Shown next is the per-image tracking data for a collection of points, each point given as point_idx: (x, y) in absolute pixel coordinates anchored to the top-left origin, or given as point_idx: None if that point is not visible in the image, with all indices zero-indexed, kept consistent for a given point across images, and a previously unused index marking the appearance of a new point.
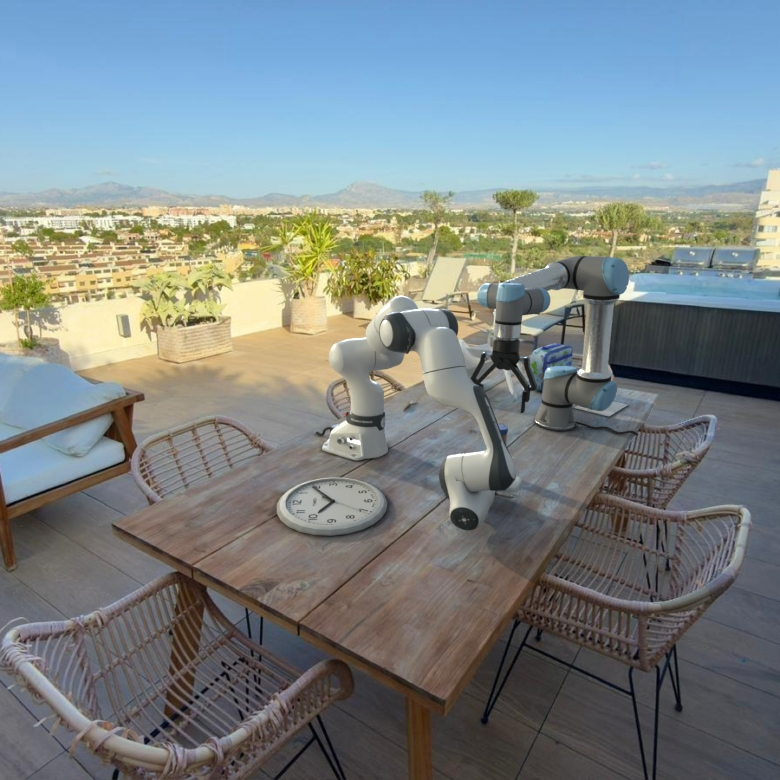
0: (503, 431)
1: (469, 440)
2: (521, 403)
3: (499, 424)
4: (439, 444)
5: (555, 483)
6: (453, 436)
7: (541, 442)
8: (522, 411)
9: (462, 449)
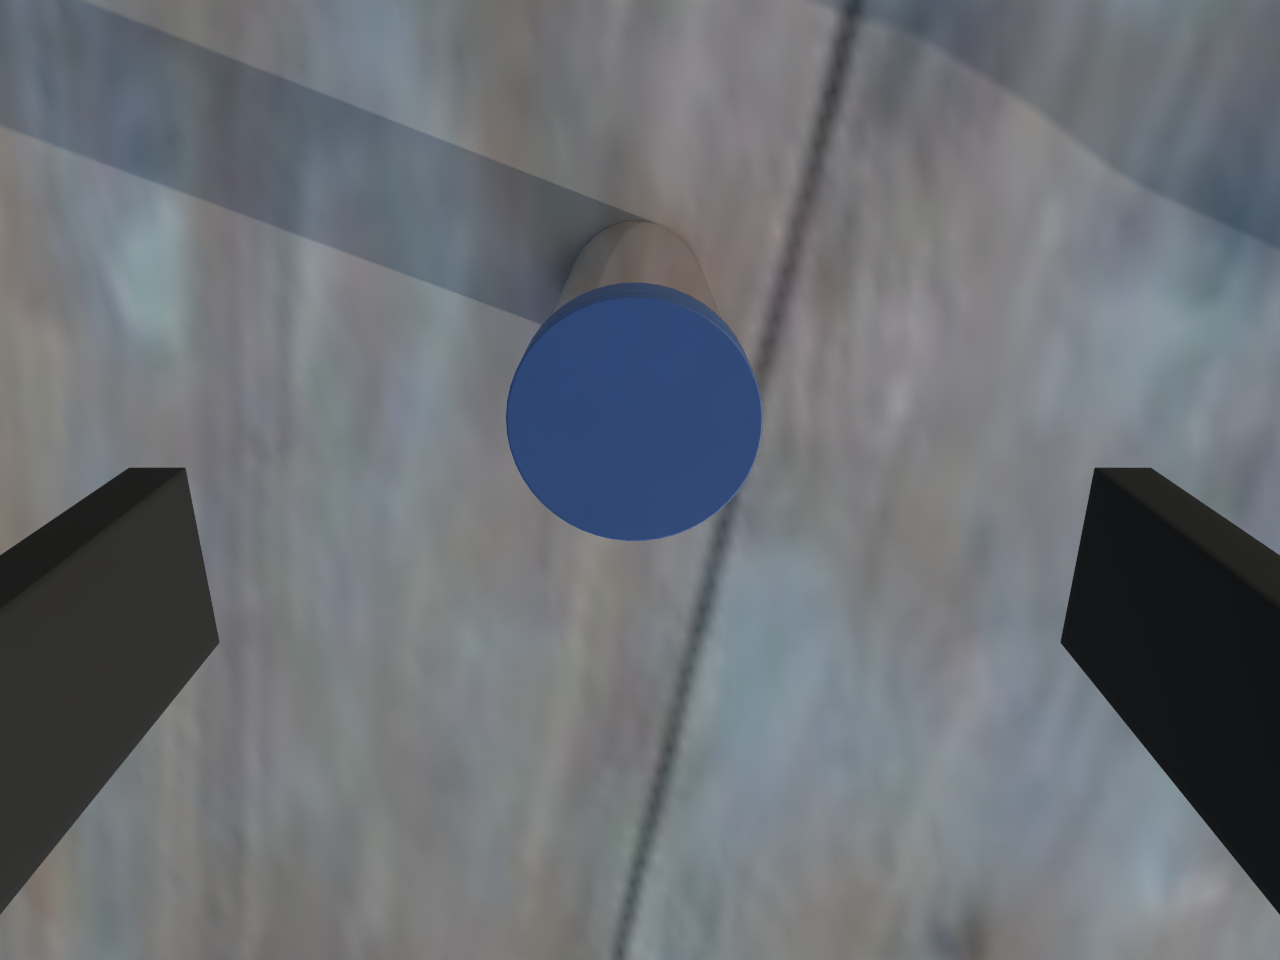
0: (549, 321)
1: (959, 794)
2: (52, 569)
3: (655, 516)
4: None
5: (145, 327)
6: (1096, 814)
7: (443, 952)
8: (123, 482)
9: (989, 621)
